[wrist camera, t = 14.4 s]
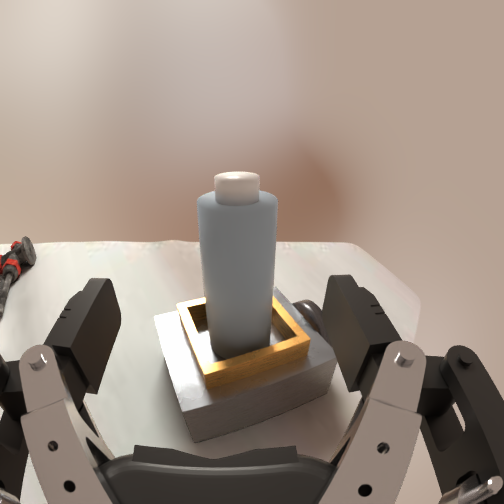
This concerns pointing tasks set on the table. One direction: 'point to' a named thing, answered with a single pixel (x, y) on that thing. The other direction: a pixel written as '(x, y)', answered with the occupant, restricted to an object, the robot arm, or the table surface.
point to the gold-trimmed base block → (245, 367)
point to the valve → (14, 266)
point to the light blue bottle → (238, 262)
